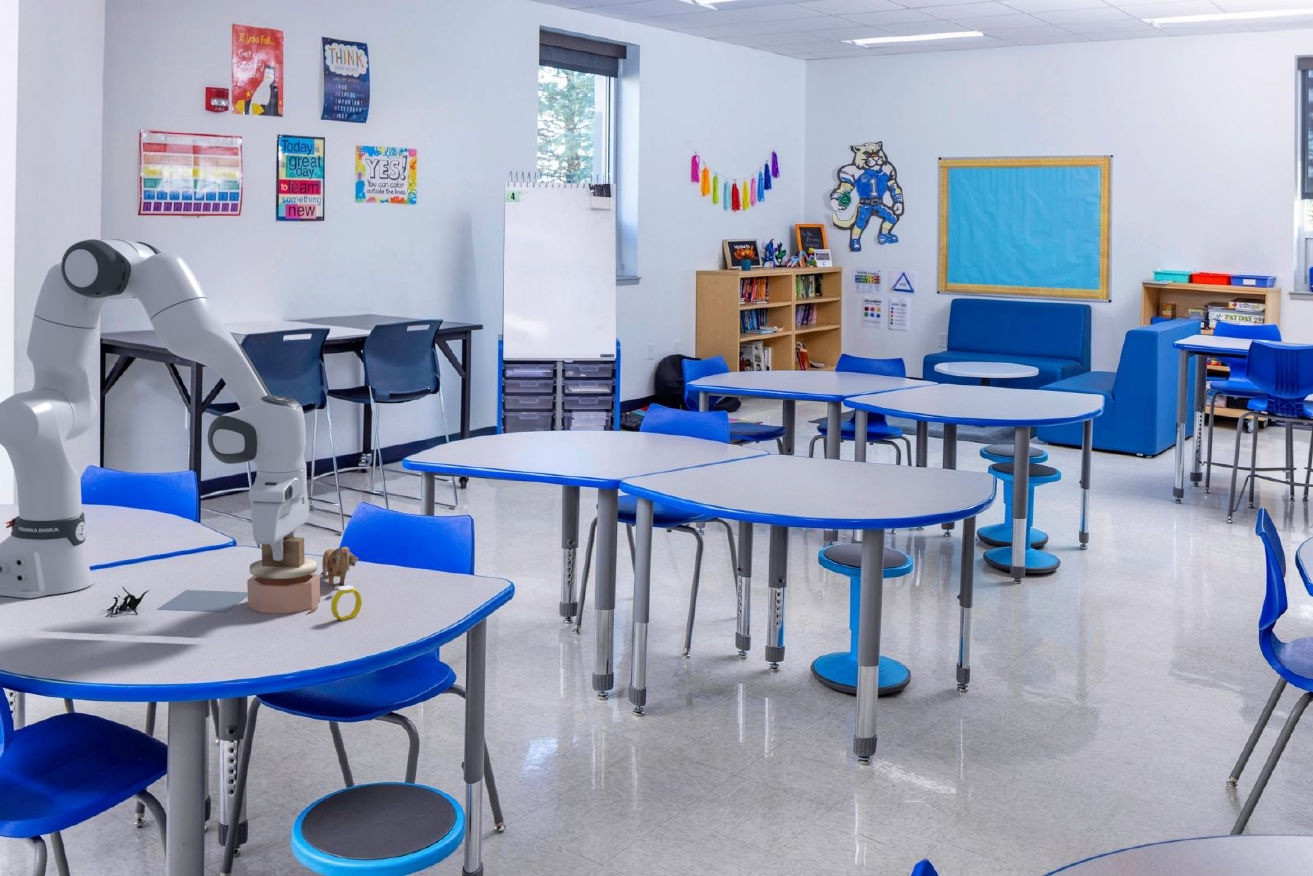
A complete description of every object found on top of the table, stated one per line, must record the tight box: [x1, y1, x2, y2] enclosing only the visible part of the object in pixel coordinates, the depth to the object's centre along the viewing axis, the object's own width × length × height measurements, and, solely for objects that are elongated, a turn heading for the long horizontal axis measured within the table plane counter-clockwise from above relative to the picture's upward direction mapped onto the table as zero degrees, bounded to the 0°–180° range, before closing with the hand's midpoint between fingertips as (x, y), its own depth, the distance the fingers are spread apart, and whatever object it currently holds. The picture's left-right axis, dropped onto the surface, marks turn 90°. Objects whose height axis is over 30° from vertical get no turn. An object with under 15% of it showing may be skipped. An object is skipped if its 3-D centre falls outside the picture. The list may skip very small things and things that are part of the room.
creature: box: [106, 586, 150, 618], centre depth 225 cm, size 8×5×8 cm
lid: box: [249, 536, 318, 579], centre depth 231 cm, size 12×12×6 cm
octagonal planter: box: [246, 572, 321, 616], centre depth 232 cm, size 12×12×6 cm
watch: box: [330, 585, 363, 621], centre depth 228 cm, size 6×3×6 cm, turn 142°
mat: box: [156, 589, 248, 613], centre depth 233 cm, size 13×13×1 cm
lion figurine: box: [320, 546, 359, 592], centre depth 249 cm, size 15×5×9 cm, turn 36°
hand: (283, 556), depth 231 cm, fingers closed on lid, 3 cm apart
